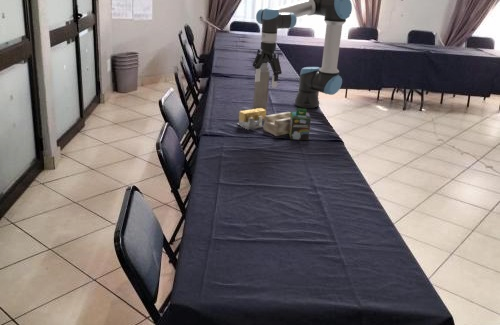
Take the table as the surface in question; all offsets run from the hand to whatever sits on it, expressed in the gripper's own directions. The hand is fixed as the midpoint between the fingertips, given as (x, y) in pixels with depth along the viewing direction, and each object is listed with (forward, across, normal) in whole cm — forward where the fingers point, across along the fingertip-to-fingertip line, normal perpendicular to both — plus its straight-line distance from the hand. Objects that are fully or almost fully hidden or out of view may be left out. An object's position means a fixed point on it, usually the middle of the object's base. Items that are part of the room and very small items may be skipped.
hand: (265, 84), depth 228 cm
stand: (+21, 0, -9) cm, 23 cm away
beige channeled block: (+21, +13, +2) cm, 25 cm away
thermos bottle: (+21, -23, +16) cm, 35 cm away
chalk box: (+21, +24, +3) cm, 33 cm away
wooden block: (+17, 0, -7) cm, 19 cm away
